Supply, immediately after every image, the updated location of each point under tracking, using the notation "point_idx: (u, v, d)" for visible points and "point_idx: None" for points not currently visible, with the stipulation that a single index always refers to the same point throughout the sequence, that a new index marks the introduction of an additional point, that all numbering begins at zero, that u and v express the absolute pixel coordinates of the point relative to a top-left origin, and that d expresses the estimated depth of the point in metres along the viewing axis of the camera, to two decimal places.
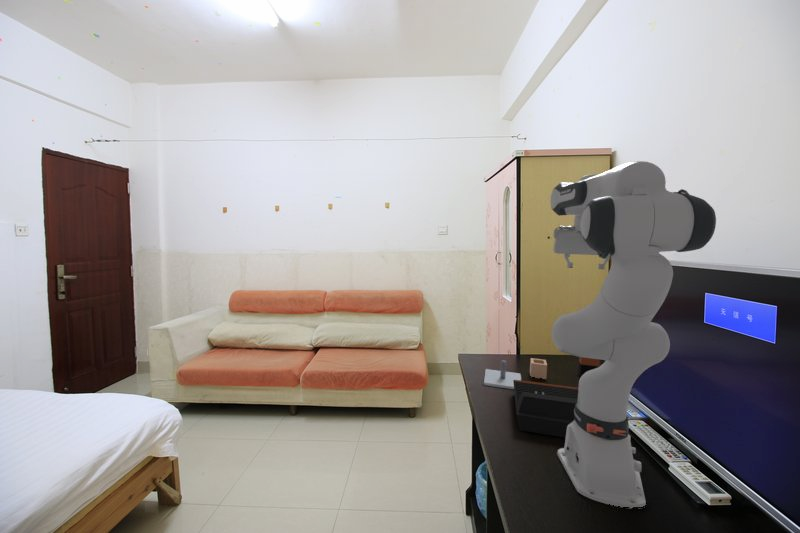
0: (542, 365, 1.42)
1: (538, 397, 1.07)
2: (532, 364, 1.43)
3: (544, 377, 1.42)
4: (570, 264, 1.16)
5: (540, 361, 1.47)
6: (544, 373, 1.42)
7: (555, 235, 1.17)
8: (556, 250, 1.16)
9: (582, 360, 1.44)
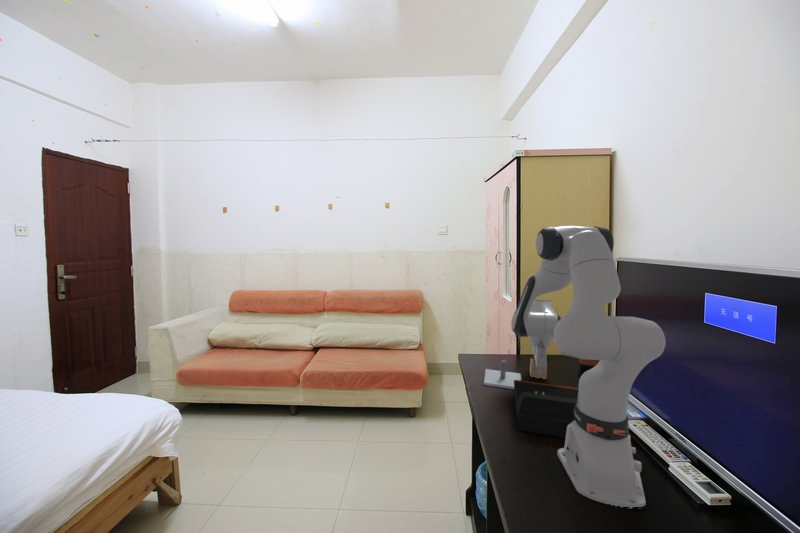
0: None
1: (538, 397, 1.07)
2: (532, 364, 1.43)
3: (544, 377, 1.42)
4: None
5: None
6: (544, 373, 1.42)
7: (543, 354, 1.35)
8: (545, 366, 1.35)
9: (582, 360, 1.44)
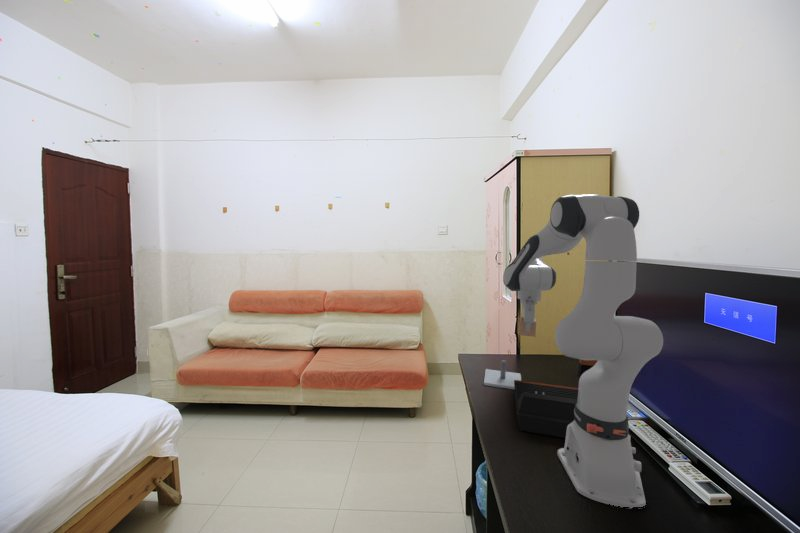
0: None
1: (538, 397, 1.07)
2: (521, 321, 1.38)
3: (533, 334, 1.37)
4: None
5: None
6: (533, 330, 1.37)
7: (531, 307, 1.30)
8: None
9: (582, 360, 1.44)
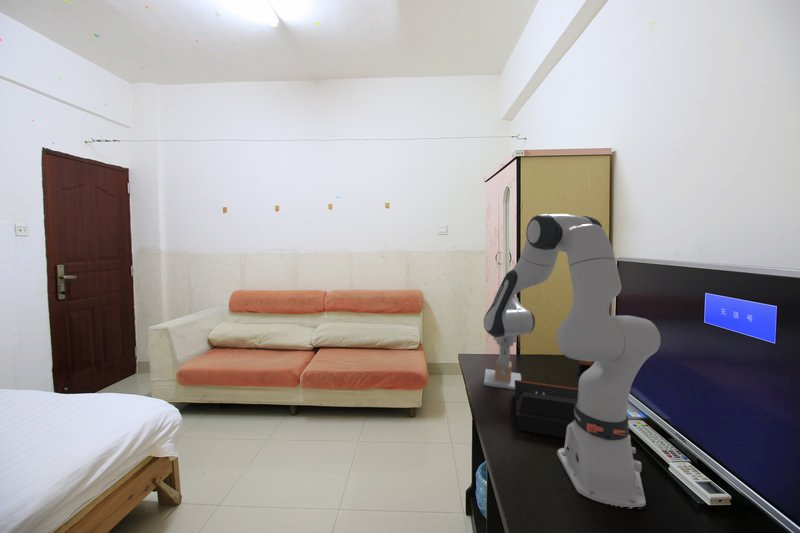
0: (506, 367, 1.36)
1: (538, 397, 1.06)
2: (496, 366, 1.37)
3: (508, 380, 1.36)
4: (505, 371, 1.35)
5: None
6: (508, 376, 1.36)
7: (505, 351, 1.29)
8: (508, 364, 1.30)
9: None
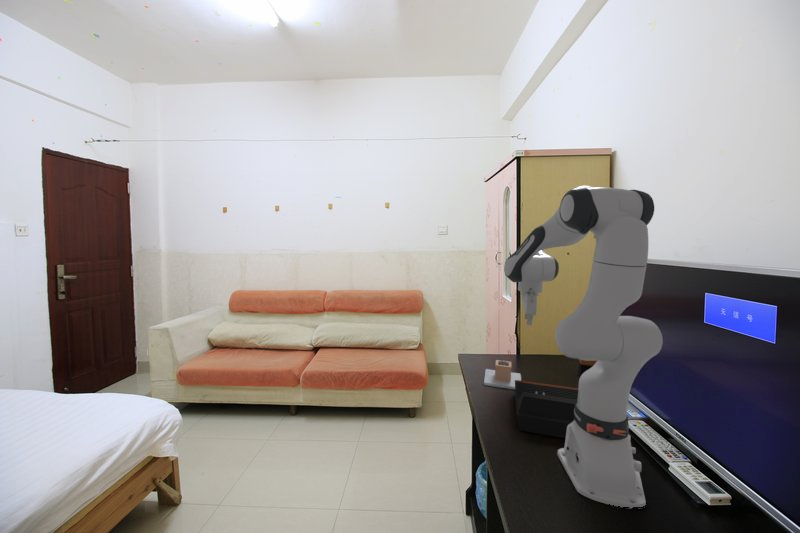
0: (506, 367, 1.36)
1: (538, 397, 1.06)
2: (496, 366, 1.37)
3: (508, 380, 1.36)
4: (531, 321, 1.32)
5: None
6: (508, 376, 1.36)
7: (533, 299, 1.26)
8: None
9: (582, 360, 1.44)
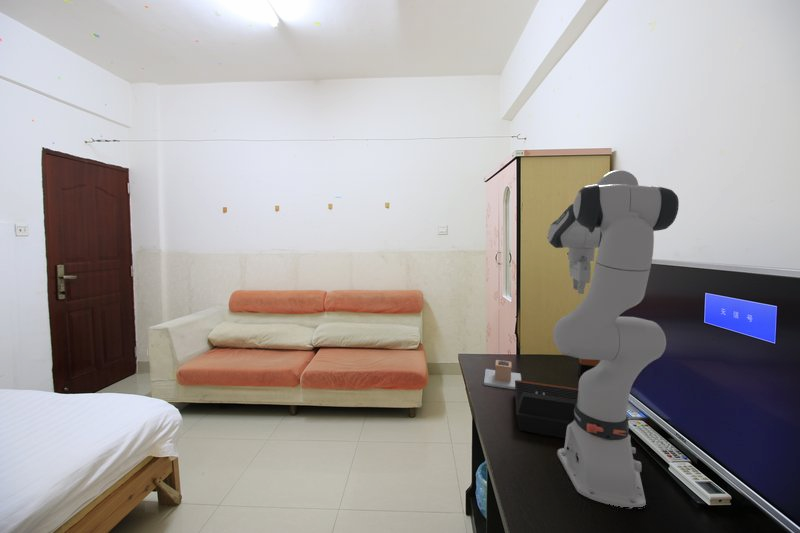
0: (506, 367, 1.36)
1: (538, 397, 1.06)
2: (496, 366, 1.37)
3: (508, 380, 1.36)
4: None
5: None
6: (508, 376, 1.36)
7: (587, 266, 1.24)
8: (589, 280, 1.24)
9: (582, 360, 1.44)
